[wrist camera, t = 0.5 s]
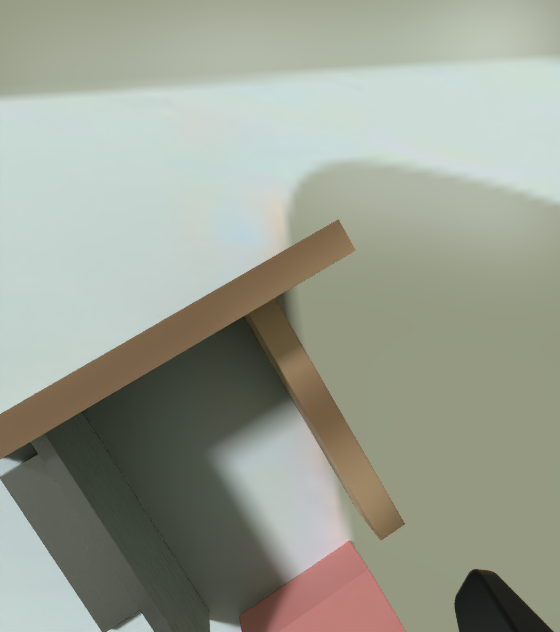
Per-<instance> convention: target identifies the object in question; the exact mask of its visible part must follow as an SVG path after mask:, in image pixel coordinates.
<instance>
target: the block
mask: <svg viewBox="0 0 560 632" xmlns="http://www.w3.org/2000/svg"><path fill="white" fill-rule="evenodd" d="M239 617H240V623H241V630H242V632H406V631H405V629H404V627H403V626H402V624H401V622H400V621H399V619H398V617H397V616H396V614H395V612H394V611H393V609H392V607H391V605H390V604H389V602H388V600H387V599H386V597H385V595H384V594H383V592H382V590H381V589H380V587H379V585H378V584H377V582H376V580H375V579H374V577H373V575H372V574H371V572H370V570H369V569H368V567H367V566H366V564H365V563H364V561H363V560H362V558H361V557H360V555H359V554H358V552H357V551H356V549H355V548H354V546H353V545H352V543H351V542H350V541H348V542H347V543H345V544H344V545H342V546H341V547H340V548H338V549H337V550H335V551H334V552H332V553H331V554H329V555H328V556H326V557H325V558H323V559H322V560H320V561H319V562H318V563H316V564H315V565H313V566H312V567H310V568H309V569H307V570H306V571H304V572H303V573H301V574H300V575H298V576H297V577H296V578H294V579H293V580H291V581H290V582H288V583H287V584H285V585H284V586H282V587H281V588H279V589H278V590H277V591H275V592H274V593H272V594H271V595H269V596H268V597H266V598H265V599H263V600H262V601H260V602H259V603H257V604H256V605H255V606H253V607H252V608H250V609H249V610H247V611H246V612H244V613H243V614H241V615H240V616H239Z"/></svg>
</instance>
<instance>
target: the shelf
mask: <svg viewBox="0 0 560 632" xmlns="http://www.w3.org/2000/svg"><path fill="white" fill-rule="evenodd" d="M353 251H355V249H354V247H353V245H352V243H351V241H350V239H349V238H348V236H347V234H346V232H345V230H344V229H343V227H342V225H341V223H340V222H339V220H337V221H335V222H333V223H331V224H330V225H328V226H326V227H324V228H323V229H321V230H319V231H317V232H316V233H314V234H312V235H311V236H309V237H307V238H305V239H303V240H302V241H300V242H298V243H297V244H295V245H293V246H291V247H290V248H288V249H286V250H284V251H283V252H281V253H279V254H277V255H276V256H274V257H272V258H271V259H269V260H267V261H265V262H264V263H262V264H260V265H258V266H257V267H255V268H253V269H251V270H250V271H248V272H246V273H244V274H243V275H241V276H239V277H238V278H236V279H234V280H232V281H231V282H229V283H227V284H225V285H224V286H222V287H220V288H218V289H217V290H215V291H213V292H211V293H210V294H208V295H206V296H205V297H203V298H201V299H199V300H198V301H196V302H194V303H192V304H191V305H189V306H187V307H185V308H184V309H182V310H180V311H178V312H177V313H175V314H173V315H172V316H170V317H168V318H166V319H165V320H163V321H161V322H159V323H158V324H156V325H154V326H152V327H151V328H149V329H147V330H146V331H144V332H142V333H140V334H139V335H137V336H135V337H133V338H132V339H130V340H128V341H126V342H125V343H123V344H121V345H119V346H118V347H116V348H114V349H113V350H111V351H109V352H107V353H106V354H104V355H102V356H100V357H99V358H97V359H95V360H93V361H92V362H90V363H88V364H86V365H85V366H83V367H81V368H80V369H78V370H76V371H74V372H73V373H71V374H69V375H67V376H66V377H64V378H62V379H60V380H59V381H57V382H55V383H54V384H52V385H50V386H48V387H47V388H45V389H43V390H41V391H40V392H38V393H36V394H34V395H33V396H31V397H29V398H27V399H26V400H24V401H22V402H21V403H19V404H17V405H15V406H14V407H12V408H10V409H8V410H7V411H5V412H3V413H1V414H0V459H2V458H4V457H5V456H7V455H9V454H10V453H12V452H14V451H15V450H17V449H19V448H21V447H22V446H24V445H26V444H27V443H29V442H31V444H32V445H33V447H34V448H35V450H36V451H37V453H38V454H37V455H35V456H33V457H31V458H30V459H28V460H26V461H25V462H23V463H21V464H20V465H18V466H16V467H15V468H13V469H11V470H10V471H8V472H6V473H5V474H3V475H2V476H1V477H0V479H1V481H2V482H3V484H4V485H5V487H6V488H7V490H8V491H9V493H10V494H11V496H12V497H13V499H14V500H15V502H16V503H17V505H18V506H19V508H20V509H21V511H22V512H23V514H24V515H25V517H26V518H27V520H28V521H29V523H30V524H31V526H32V527H33V529H34V530H35V532H36V533H37V535H38V536H39V538H40V539H41V541H42V542H43V544H44V545H45V547H46V548H47V550H48V551H49V553H50V554H51V556H52V557H53V559H54V560H55V562H56V563H57V565H58V566H59V568H60V569H61V571H62V572H63V574H64V575H65V577H66V578H67V580H68V581H69V583H70V584H71V586H72V587H73V589H74V590H75V592H76V593H77V595H78V596H79V598H80V599H81V601H82V602H83V604H84V605H85V607H86V608H87V610H88V611H89V613H90V614H91V616H92V617H93V619H94V620H95V622H96V623H97V625H98V626H99V628H100V629H101V631H102V632H107V631H108V630H110V629H111V628H113V627H114V626H116V625H117V624H119V623H121V622H122V621H124V620H125V619H127V618H128V617H130V616H131V615H133V614H134V613H136V612H137V611H139V610H140V611H141V612H142V614H143V615H144V617H145V618H146V620H147V621H148V623H149V625H150V626H151V628H152V629H153V631H154V632H210V621H209V610H208V609H207V607H206V606H205V604H204V603H203V601H202V599H201V598H200V596H199V595H198V593H197V592H196V590H195V588H194V587H193V585H192V584H191V582H190V581H189V579H188V577H187V576H186V574H185V573H184V571H183V570H182V568H181V566H180V565H179V563H178V562H177V560H176V559H175V557H174V555H173V554H172V552H171V551H170V549H169V548H168V546H167V544H166V543H165V541H164V540H163V538H162V537H161V535H160V533H159V532H158V530H157V529H156V527H155V526H154V524H153V522H152V521H151V519H150V518H149V516H148V515H147V513H146V511H145V510H144V508H143V507H142V505H141V503H140V502H139V500H138V499H137V497H136V496H135V494H134V492H133V491H132V489H131V488H130V486H129V485H128V483H127V481H126V480H125V478H124V477H123V475H122V474H121V472H120V470H119V469H118V467H117V466H116V464H115V463H114V461H113V459H112V458H111V456H110V455H109V453H108V452H107V450H106V448H105V447H104V445H103V444H102V442H101V441H100V439H99V437H98V436H97V434H96V433H95V431H94V430H93V428H92V426H91V425H90V423H89V422H88V420H87V419H86V417H85V415H84V414H83V412H82V411H83V410H85V409H87V408H89V407H90V406H92V405H94V404H95V403H97V402H99V401H100V400H102V399H104V398H105V397H107V396H109V395H111V394H112V393H114V392H116V391H117V390H119V389H121V388H122V387H124V386H126V385H128V384H129V383H131V382H133V381H134V380H136V379H138V378H139V377H141V376H143V375H145V374H146V373H148V372H150V371H151V370H153V369H155V368H156V367H158V366H160V365H162V364H163V363H165V362H167V361H168V360H170V359H172V358H173V357H175V356H177V355H179V354H180V353H182V352H184V351H185V350H187V349H189V348H190V347H192V346H194V345H196V344H197V343H199V342H201V341H202V340H204V339H206V338H207V337H209V336H211V335H213V334H214V333H216V332H218V331H219V330H221V329H223V328H224V327H226V326H228V325H230V324H231V323H233V322H235V321H236V320H238V319H240V318H241V317H243V316H244V318H245V319H246V321H247V323H248V324H249V326H250V328H251V330H252V331H253V333H254V335H255V336H256V338H257V340H258V342H259V343H260V345H261V347H262V348H263V350H264V352H265V354H266V355H267V357H268V359H269V360H270V362H271V364H272V366H273V367H274V369H275V371H276V372H277V374H278V376H279V377H280V379H281V381H282V383H283V384H284V386H285V388H286V389H287V391H288V393H289V395H290V396H291V398H292V400H293V401H294V403H295V405H296V407H297V408H298V410H299V412H300V413H301V415H302V417H303V419H304V420H305V422H306V424H307V425H308V427H309V429H310V430H311V432H312V434H313V436H314V437H315V439H316V441H317V442H318V444H319V446H320V448H321V449H322V451H323V453H324V454H325V456H326V458H327V460H328V461H329V463H330V465H331V466H332V468H333V470H334V472H335V473H336V475H337V477H338V478H339V480H340V482H341V483H342V485H343V487H344V489H345V490H346V492H347V494H348V495H349V497H350V499H351V501H352V502H353V504H354V505H355V507H356V509H357V511H358V512H359V514H360V515H361V516H362V517H363V519H364V520H365V521H366V522H367V524H368V525H369V526H370V527H371V529H372V530H373V531H374V532H375V534H376V535H377V536H378V537H379V539H380V540H382V539H384V538H385V537H387V536H388V535H389V534H391V533H393V532H394V531H395V530H397V529H398V528H400V527H401V526H403V525H404V524H405V523H404V522H403V520H402V518H401V516H400V515H399V513H398V511H397V510H396V508H395V506H394V504H393V502H392V501H391V499H390V497H389V496H388V494H387V492H386V490H385V489H384V487H383V485H382V484H381V482H380V480H379V478H378V477H377V475H376V473H375V471H374V469H373V468H372V466H371V465H370V463H369V461H368V459H367V457H366V456H365V454H364V452H363V450H362V449H361V447H360V445H359V443H358V442H357V440H356V438H355V436H354V435H353V433H352V431H351V430H350V428H349V426H348V424H347V423H346V421H345V419H344V417H343V416H342V414H341V413H340V410H339V409H338V407H337V405H336V403H335V402H334V400H333V398H332V397H331V395H330V393H329V391H328V390H327V388H326V386H325V384H324V383H323V381H322V380H321V377H320V376H319V374H318V372H317V370H316V369H315V367H314V365H313V363H312V362H311V360H310V359H309V357H308V355H307V353H306V351H305V350H304V348H303V346H302V344H301V343H300V341H299V339H298V337H297V336H296V334H295V332H294V330H293V329H292V327H291V325H290V323H289V322H288V320H287V318H286V317H285V315H284V313H283V311H282V310H281V308H280V306H279V304H278V303H277V301H276V299H275V297H277V296H279V295H280V294H282V293H284V292H286V291H287V290H289V289H291V288H292V287H294V286H296V285H297V284H299V283H301V282H302V281H304V280H306V279H308V278H309V277H311V276H313V275H314V274H316V273H318V272H320V271H321V270H323V269H325V268H326V267H328V266H330V265H331V264H333V263H334V262H336V261H338V260H340V259H342V258H343V257H345V256H347V255H348V254H350V253H352V252H353Z"/></svg>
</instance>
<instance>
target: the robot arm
mask: <svg viewBox="0 0 560 632" xmlns="http://www.w3.org/2000/svg"><path fill="white" fill-rule="evenodd" d="M455 612H456V618H457V623H458V627H459V632H553V631H552V630H551V629H550V628H549V627H548V626H547V625H546V624H545V623H544V622H543V620H541V618H540V617H539V616H538V615H537V614H535V613H534V611H533V610H532V609H531V608H530V607H529V606H528V605H527V604H526V603H525V602H524V601H523V600H522V599H521V598H520V597H519V596H518V595H517V594H516V593H515V592H514V591H513V590H512V589H511V588H510V587H509V586H508V585H507V584H506V583H505V582H504V581H503V580H502V579H501V578H500V577H499V576H498V575H497V574H496V573H494V572H492V571H488V570H479V569H474V570H472V571H470V572H469V574H468V575H467V577H466V579H465V581H464V582H463V584H462V586H461V587H460V589H459V591H458V593H457V595H456V598H455Z"/></svg>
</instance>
